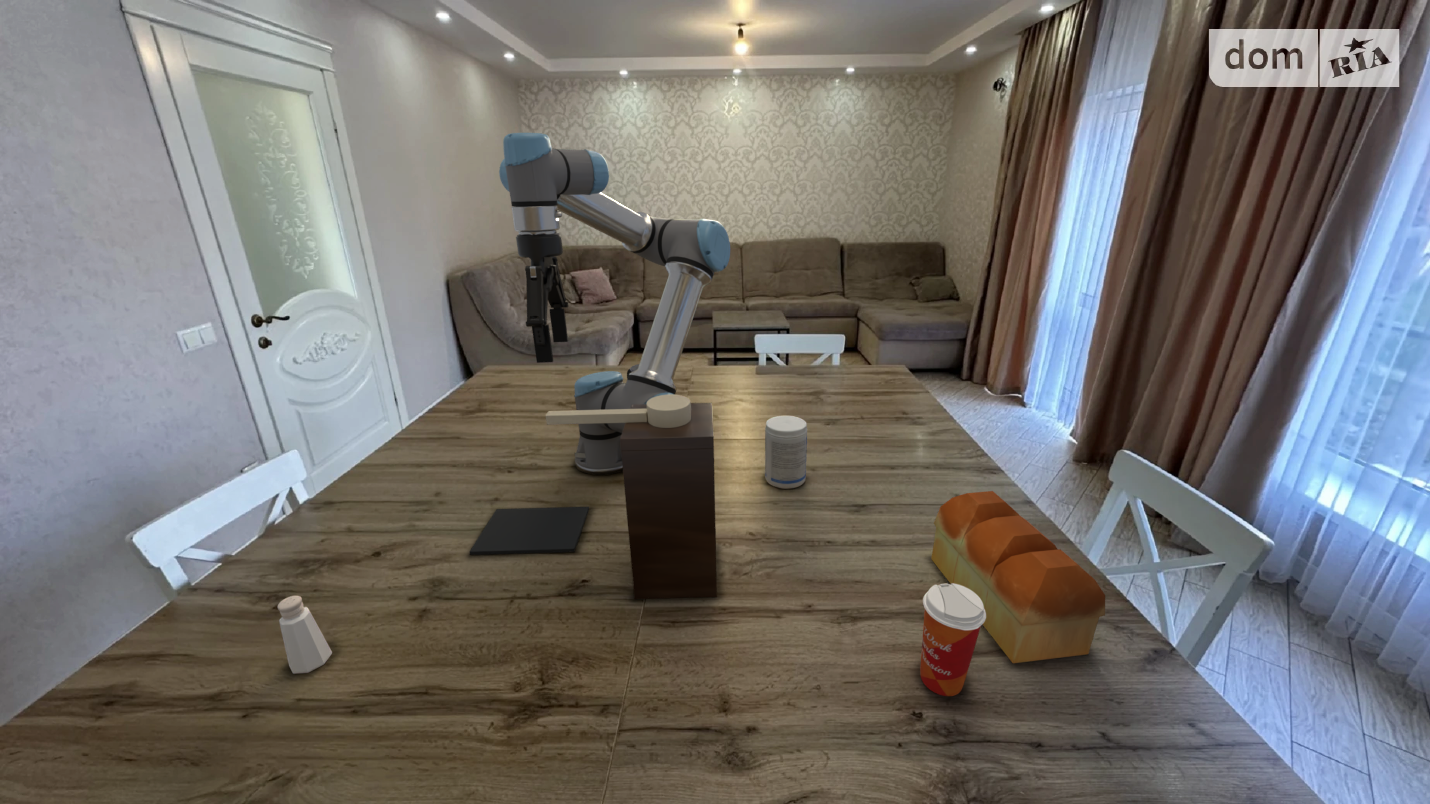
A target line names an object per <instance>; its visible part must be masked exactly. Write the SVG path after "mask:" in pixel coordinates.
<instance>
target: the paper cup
mask: <svg viewBox="0 0 1430 804" xmlns="http://www.w3.org/2000/svg"><path fill="white" fill-rule="evenodd" d="M922 605H923V608H924V614H923V625H922V626H923V627H922V637H921V638H922V640H921V654H920V674H919V675H920V679H921V681H922V683H923V684H924V686H925V687H926V688H927V689H928V690H930V691H931V692H933V693H934V694H936V695H940V696H943V697H954V696H957V695H959V694H960V693H961V692H962V690H963V687H964V685H965V682H966V679H967V675H968V671H969V668H970V665H971V661H972V659H973V656H974V651H975V647H976V646H977V645H976V644H977V640H978V638H979V634H980V630H981V627H982V626H983V623H984V622H985V619H986V612H985V609H984V606H983V603H982V601H981V599H980V598H979V596H978V595H977V594H975V593H974V592H973V591H972V590H970V589H968V588H966V587H964V586H961V585H958V584H954V583H951V584H950V583H948V582H947V583H940V584H933V585H932V586H931V587H930V588H929V589H928V591H927V592H925V594H924V596H923V597H922Z"/></svg>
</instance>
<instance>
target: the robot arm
mask: <svg viewBox="0 0 1430 804" xmlns="http://www.w3.org/2000/svg"><path fill="white" fill-rule="evenodd" d="M502 146H503V156H504V157H503V159H502V161H501V162H500V166H499V171H498V173H499V179H500V183H501V184H502V186H503V187H504V189H505V190H506V191H507V192H509V199H510V204H511V212H512V220H513V221H512V222H513V228H514V231H515V232H518V234H516V236H515V240H516V248H517V255H518V256H519V257H521V258H524V259H527V258H529V260H530V265H525V266H524V267H525V268H524V271H525V279H526V321H525V326H526V328H529V327H530V328H531V332H532V338H533V345H534V352H535V359H536V363H537V364H539V363H540V364H541V363H553V362H554V354H553V348H552V347H553V346H552V341H553V343H568V342H569V337H568V330H567V329H568V328H567V319H566V313H565V308H567V309H568V308H569V302H568V301H567V299H566V295H565V290H564V287H563V282H562V277H561V274H560V269H559V263H558V257H559V256H562V255H563V253H564V250H563V241H562V235H561V234H560V232H558V231H559V230H560V228H561V226H560V218H562V217H563V214H565V215H567V216H568V217H571V218H573V219H575V220H577V221H578V222H580V223H583V224H584V225H587V226H588V227H590V228H592V229H595V230H596V231H599V232H600V233H602V234H604V235H606V236H608V237H610V238H612V239H614V240H616V241H618V242H620V243H621V244H622V246H623V248H624V249H625V250H627V251H629V252H630V253H632V254H635V255H637V256H639V257H640V258H642V259H644V260H647V261H649V262H651V263H653V264H656V265H658V266H662V267H664V269H665V270H666V272H667V274H668V277H667V280H666V283H665V285H664V288H663V292H662V295H661V298H660V301H659V303H658V307H657V310H656V313H655V316H654V318H653V322H652V325H651V328H650V330H649V334H648V337H647V340H646V343H645V346H644V350H643V351H642V355H641V358H640V361H639V363H638V364H639V367H638V369H637V370H636V371H634V372H632V373H630V374H629V376H628V379H627V378H626V382H624V377H623V375H622V372H620V371H615V370H605V371H598V372H593V373H590V374H586V375H583V376H580V377H579V378H578V379H576V381H575V382H574V386H573V387H574V396H573V398H574V401H575V410H608V409H630V407H631V405H633V404H647V401H648V400H649V399H651V398H653V397H656V396H660V395H669V394H673V395H676V393H677V386H676V384H675V383H674V378H675V375H676V372H677V369H678V366H679V363H680V359H681V356H682V353H683V351H684V347H685V344H686V341H687V338H688V335H689V332H690V328H691V326H692V322H693V319H694V316H695V313H696V310H697V307H698V304H699V300H700V297H701V294H702V292H703V289H704V287H706V286H708V285H710V284H711V283H712V281H713V278H714V275H715V273H719V272H723V271H724V270H725V269H726V268H727V266H728V265H729V262H730V257H731V243H730V237H729V235H728V232H727V230H726V228H725V227H724V225H723V224H722V223H721V222H720V221H718V220H714V219H706V218H700V219H697V218H695V219H693V218H690V219H689V218H685V219H684V218H663V217H655V216H651V215H649V214H647V213H645V212H642V211H636V212H635V211H633V210H632V209H630V208H628V207H626V206H625V205H623V204H621V203H619V202H618V201H617V200H615V199H613V198H611V197H609V196H608V195H606V194H604V193H603V191H605V190H606V188H607V186H608V184H609V181H610V171H609V165H608V162H607V160H606V159H605V157H604V156H603V154H601V153H599V152H598V151H595V150H589V149H586V148H583V149H572V148H571V149H570V148H569V149H568V148H567V149H566V148H553V146H552V144H551V139H550V137H549V135H548V134H545V133H541V132H511V133H508V134H506V135H505V136H504V138H503V140H502ZM562 213H563V214H562ZM548 303H549V304H548ZM548 305H549V306H550V308H549V309H548ZM548 310H549V316H550V317H549V318H550V325H551V326H550V325H549V324H548ZM550 327H551V332H550ZM551 334H552V339H551ZM577 425H578V431H579V438H578V442H577V447H576V451H575V452H574V462H575V468H577V470H579V471H580V472H581V473H583V474H587V475H593V476H607V475H614V474H618V473H621V472H623V466H622V455H621V444H620V438H621V435H622V432H623V429H624V426H625V423H593V424H577Z"/></svg>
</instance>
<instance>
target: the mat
mask: <svg viewBox="0 0 1430 804" xmlns="http://www.w3.org/2000/svg"><path fill="white" fill-rule="evenodd" d="M589 512H590V506H557V507H520V508H519V507H518V508H496V509H495V511H494V512H493V514H492V516H491V517H490V518H489V520H488V522H487V523H486V525H485V527H484V528H483V529H482V531H481V532H480V534H479V536H478V537H477V539H476V541H475V542H474V544H473V545H472V547H471V548H470V550H469V555H470V556H481V555H482V556H483V555H515V554H517V555H519V554H551V553H552V554H554V553H576V549H577V546H578V543H579V541H580V537H581V535H582V532H583V529H584V526H585V523H586V520H587V519H588V518H587V517H588V515H589Z"/></svg>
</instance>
